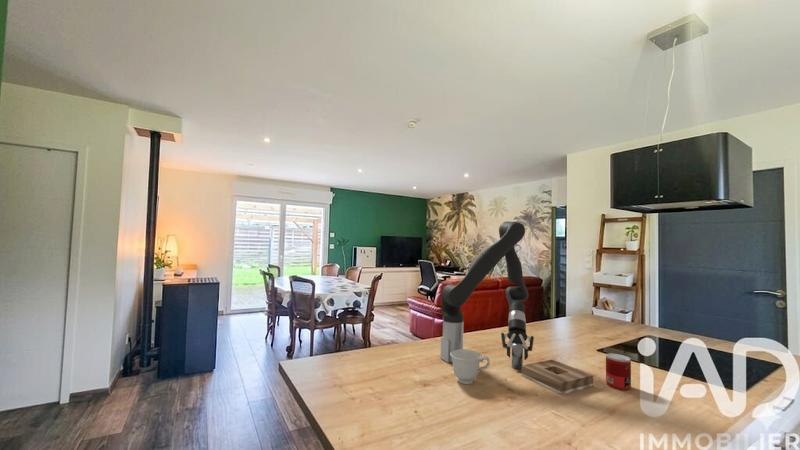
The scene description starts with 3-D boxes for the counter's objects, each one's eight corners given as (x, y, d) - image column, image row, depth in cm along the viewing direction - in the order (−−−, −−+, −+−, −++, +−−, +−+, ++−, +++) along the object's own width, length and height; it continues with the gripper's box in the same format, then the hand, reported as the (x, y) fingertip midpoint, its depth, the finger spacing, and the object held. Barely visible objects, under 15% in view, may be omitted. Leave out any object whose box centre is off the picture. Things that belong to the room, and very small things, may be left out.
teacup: (490, 390, 119) (491, 362, 120) (448, 385, 122) (449, 358, 123) (488, 377, 131) (488, 351, 131) (450, 373, 134) (450, 348, 134)
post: (517, 370, 139) (517, 346, 139) (509, 366, 143) (509, 343, 143) (524, 368, 141) (525, 344, 141) (517, 365, 145) (517, 341, 145)
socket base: (560, 394, 117) (560, 383, 117) (521, 375, 133) (521, 365, 133) (593, 386, 125) (593, 375, 125) (552, 368, 141) (552, 359, 141)
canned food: (630, 392, 120) (630, 362, 121) (604, 386, 125) (604, 356, 126) (631, 385, 126) (631, 356, 127) (606, 380, 131) (606, 351, 132)
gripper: (500, 316, 152) (499, 351, 140) (534, 319, 147) (536, 355, 136) (500, 325, 157) (499, 359, 145) (533, 329, 152) (535, 364, 140)
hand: (517, 357), depth 140 cm, fingers open, 5 cm apart
